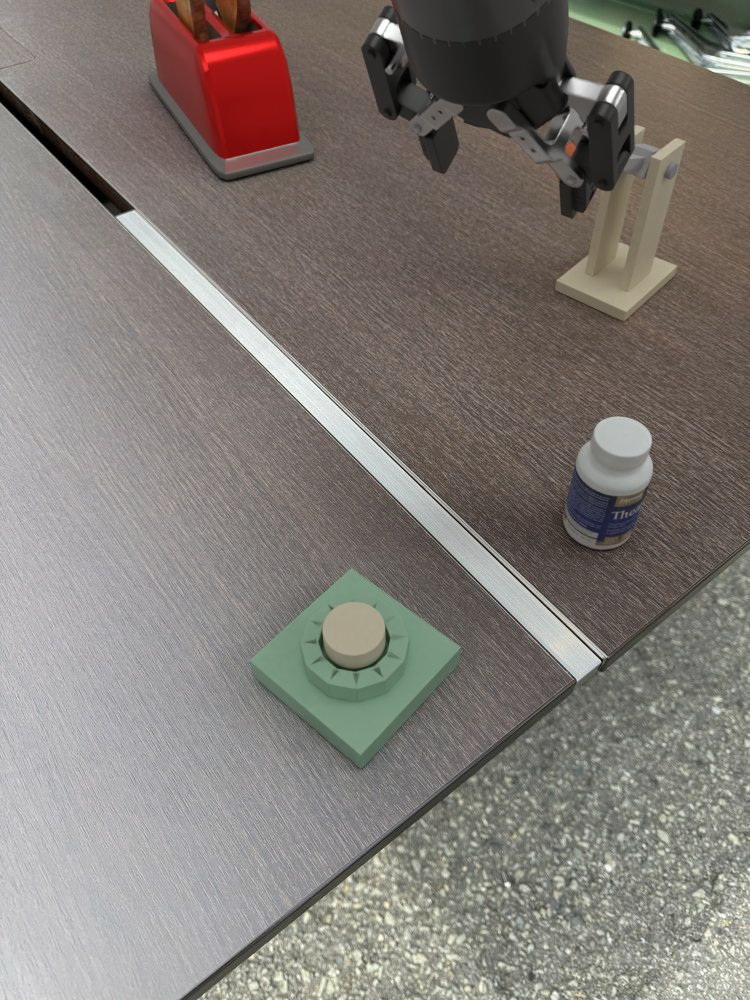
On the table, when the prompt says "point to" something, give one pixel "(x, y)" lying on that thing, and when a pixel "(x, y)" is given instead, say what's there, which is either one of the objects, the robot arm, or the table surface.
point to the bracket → (630, 269)
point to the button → (354, 635)
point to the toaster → (226, 85)
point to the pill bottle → (609, 484)
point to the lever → (630, 159)
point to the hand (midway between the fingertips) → (508, 181)
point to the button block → (356, 671)
